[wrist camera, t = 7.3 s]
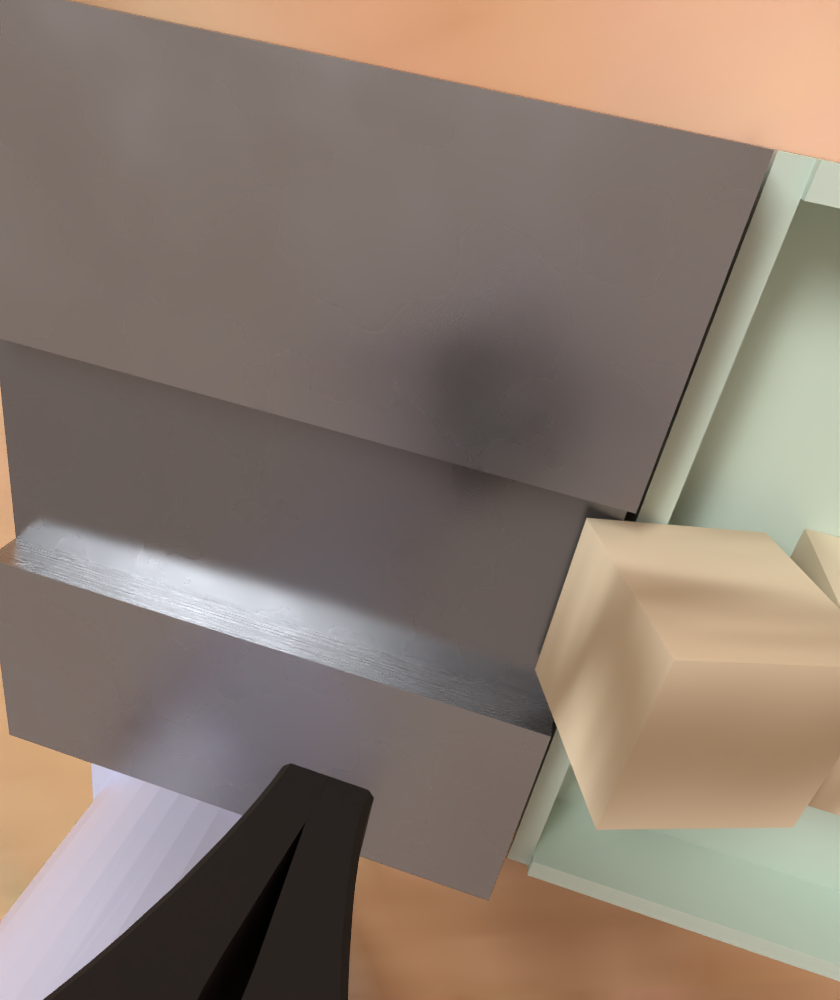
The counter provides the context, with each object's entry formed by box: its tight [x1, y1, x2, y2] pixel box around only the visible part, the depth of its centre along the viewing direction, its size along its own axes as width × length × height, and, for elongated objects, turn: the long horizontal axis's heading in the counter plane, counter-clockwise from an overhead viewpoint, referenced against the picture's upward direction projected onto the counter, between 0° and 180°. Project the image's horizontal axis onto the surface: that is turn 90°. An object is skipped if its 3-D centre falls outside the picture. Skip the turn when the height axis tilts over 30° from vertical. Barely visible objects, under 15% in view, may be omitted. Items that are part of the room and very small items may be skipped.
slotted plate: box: [0, 0, 774, 901], centre depth 18 cm, size 18×14×4 cm
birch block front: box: [535, 518, 840, 830], centre depth 14 cm, size 4×4×4 cm
